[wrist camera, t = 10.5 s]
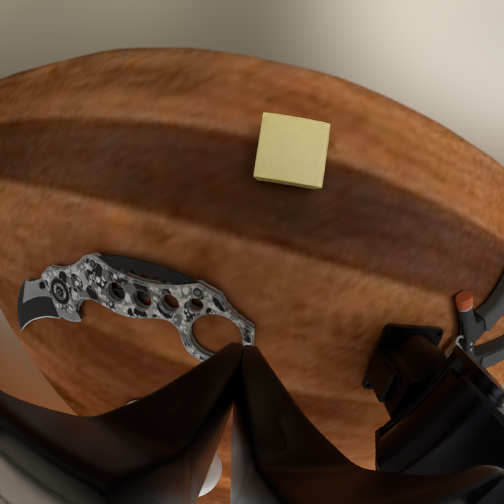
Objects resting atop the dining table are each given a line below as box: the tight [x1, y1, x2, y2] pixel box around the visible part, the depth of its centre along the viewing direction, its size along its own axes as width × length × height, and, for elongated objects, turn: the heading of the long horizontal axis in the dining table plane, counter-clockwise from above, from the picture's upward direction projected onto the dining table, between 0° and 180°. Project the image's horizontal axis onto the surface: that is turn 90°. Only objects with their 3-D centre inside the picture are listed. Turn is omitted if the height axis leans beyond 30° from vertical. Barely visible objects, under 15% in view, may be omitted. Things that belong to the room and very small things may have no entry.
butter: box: [253, 112, 330, 189], centre depth 16 cm, size 4×4×3 cm
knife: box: [17, 253, 255, 361], centre depth 20 cm, size 28×2×10 cm
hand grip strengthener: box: [446, 274, 504, 368], centre depth 18 cm, size 2×13×15 cm
